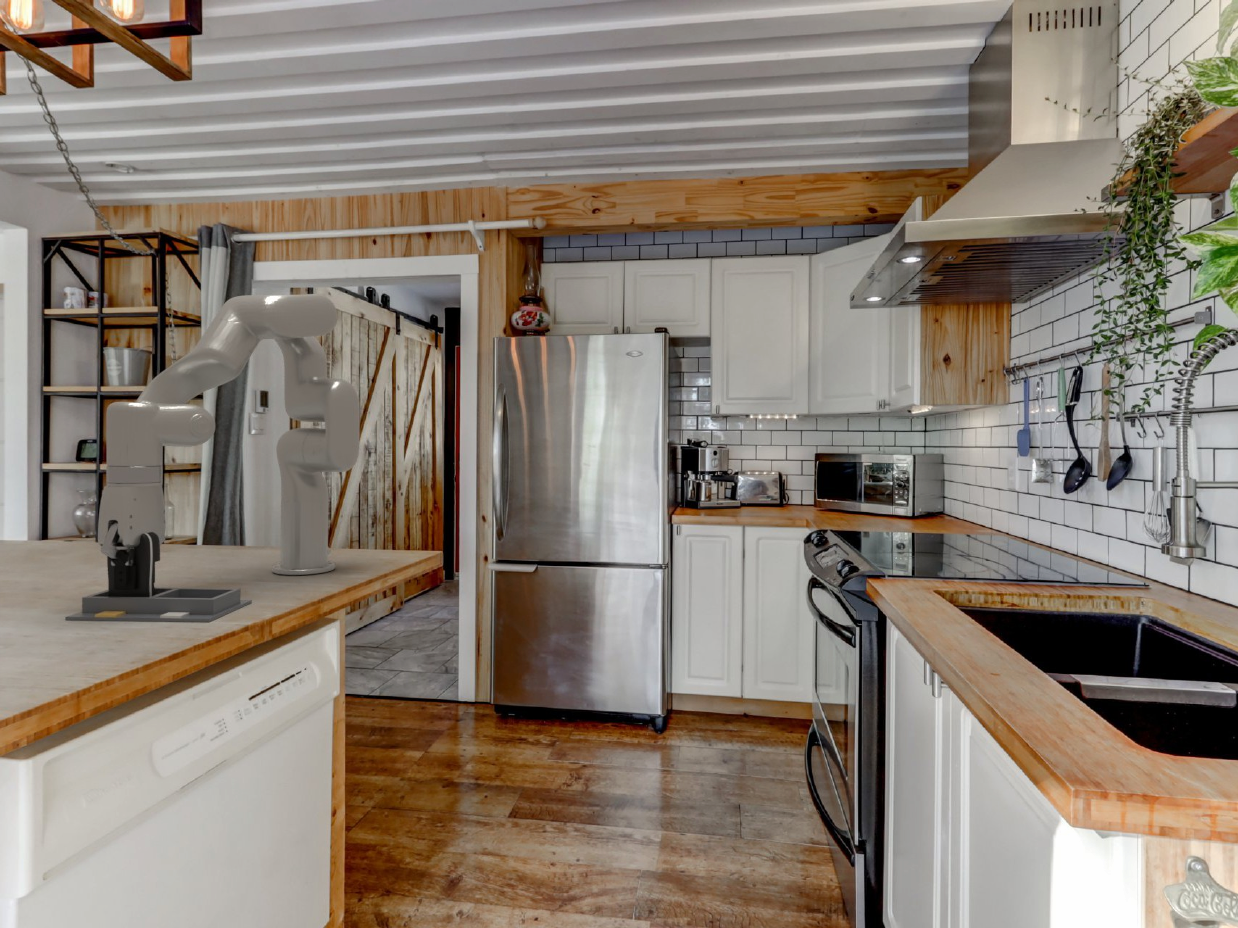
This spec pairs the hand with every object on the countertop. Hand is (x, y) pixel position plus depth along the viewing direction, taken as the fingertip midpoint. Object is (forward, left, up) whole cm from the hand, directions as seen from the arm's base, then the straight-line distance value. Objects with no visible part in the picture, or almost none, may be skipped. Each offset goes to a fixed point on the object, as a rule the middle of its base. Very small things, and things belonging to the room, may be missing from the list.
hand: (134, 585), depth 111 cm
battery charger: (0, 0, -2) cm, 2 cm away
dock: (0, +5, -4) cm, 6 cm away
